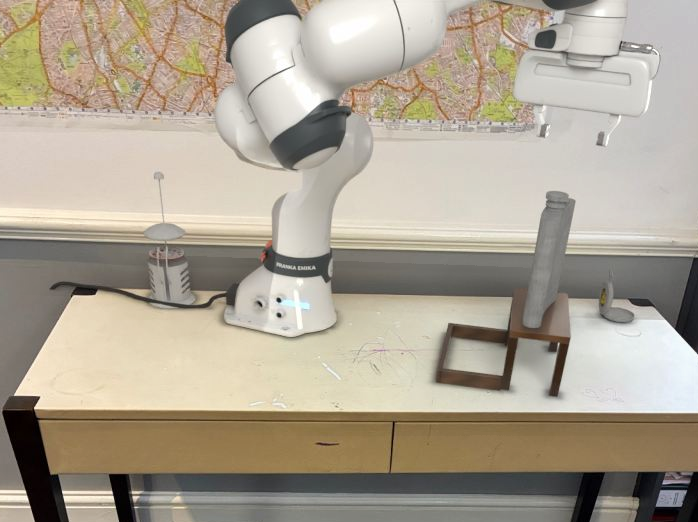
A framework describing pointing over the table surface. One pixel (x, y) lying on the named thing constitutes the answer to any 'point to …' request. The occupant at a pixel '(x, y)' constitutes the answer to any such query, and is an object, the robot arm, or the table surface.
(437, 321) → the table surface
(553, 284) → the hip flask
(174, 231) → the french press
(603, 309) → the pocket watch
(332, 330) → the table surface
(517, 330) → the shelf stand
